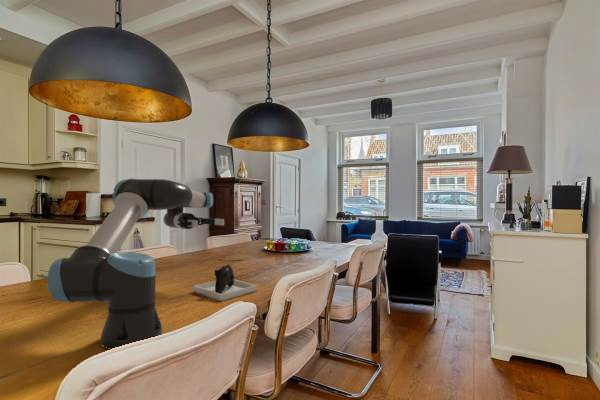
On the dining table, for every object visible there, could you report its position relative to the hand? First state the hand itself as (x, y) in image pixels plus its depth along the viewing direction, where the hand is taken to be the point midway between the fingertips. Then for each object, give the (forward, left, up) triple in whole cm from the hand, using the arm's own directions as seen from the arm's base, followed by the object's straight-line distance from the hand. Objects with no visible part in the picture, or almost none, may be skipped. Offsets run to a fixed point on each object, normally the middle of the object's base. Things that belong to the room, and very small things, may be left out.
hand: (210, 223), depth 146 cm
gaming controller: (0, -11, -28) cm, 30 cm away
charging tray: (0, -11, -28) cm, 30 cm away
